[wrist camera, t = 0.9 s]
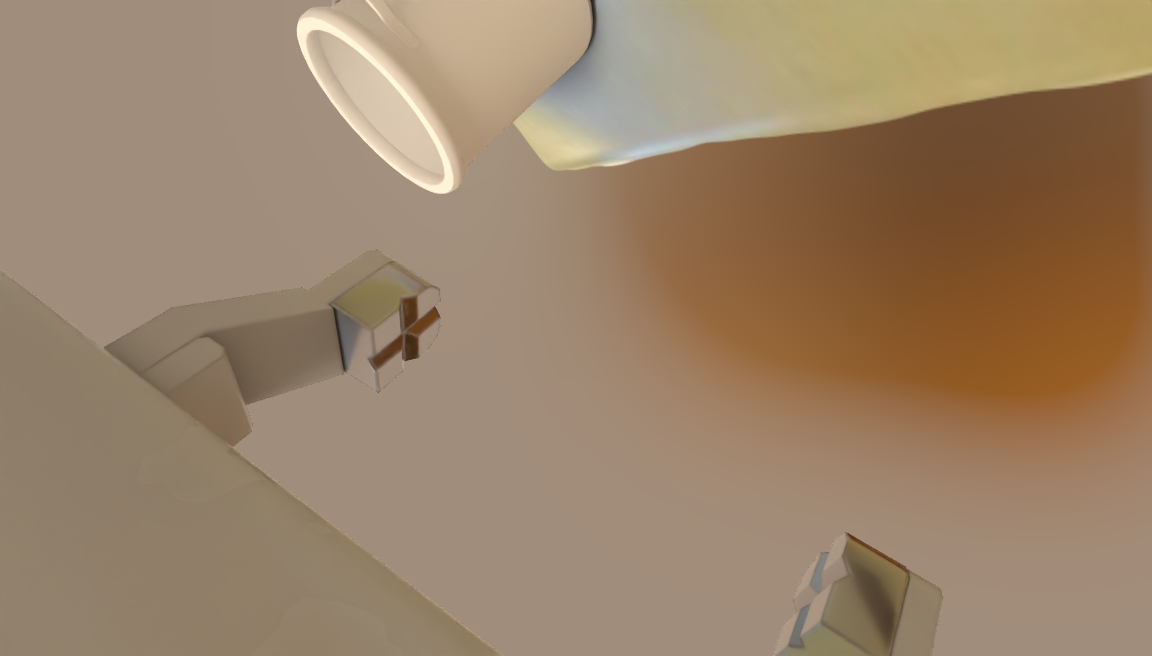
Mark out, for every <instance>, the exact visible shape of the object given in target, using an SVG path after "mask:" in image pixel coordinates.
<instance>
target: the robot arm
mask: <svg viewBox="0 0 1152 656" xmlns="http://www.w3.org/2000/svg"><path fill="white" fill-rule="evenodd" d="M440 301H441V298H440V289H439V288H438V287H436V286H435V285H433V284H432V283H430V282H428V281H427V280H425V279H424V278H422V277H421V276H419V275H417V274H416V273H414V272H413V271H411V270H409V269H408V268H406V267H405V266H403V265H401V264H400V263H399V262H397V261H395V260H394V259H392V258H390V257H389V256H387V255H386V254H384V253H382V252H381V251H379V250H377V249H376V250H371V251H367V252H365V253H364V254H362V255H361V256H359V257H358V258H356V259H355V260H353V261H352V262H350V263H349V264H347V265H346V266H344V267H343V268H341V269H340V270H338V271H337V272H335V273H333V274H332V275H331V276H329V277H328V278H326V279H324V280H323V281H321V282H320V283H319V284H317V285H315V286H314V287H312V288H311V289H309V290H308V291H307V290H305V289H303V288H302V287H301V288H295V289H289V290H282V291H276V292H269V293H263V294H256V295H250V296H243V297H237V298H231V299H224V300H218V301H211V302H205V303H198V304H192V305H185V306H179V307H173V308H170V309H169V310H167V311H165V312H163V313H162V314H160V315H158V316H157V317H155V318H153V319H152V320H150V321H148V322H147V323H145V324H143V325H141V326H140V327H138V328H136V329H134V330H133V331H131V332H129V333H128V334H126V335H124V336H122V337H121V338H119V339H117V340H116V341H114V342H112V343H110V344H109V345H107V346H105V347H104V348H103V347H102V346H100V345H99V344H98V343H96V342H95V341H94V340H93V339H91V338H90V337H89V336H87V335H86V334H85V333H83V332H82V331H81V330H79V329H78V328H77V327H76V326H74V325H73V324H72V323H70V322H69V321H68V320H66V319H65V318H64V317H63V316H61V315H60V314H59V313H57V312H56V311H55V310H53V309H52V308H51V307H50V306H48V305H47V304H46V303H44V302H43V301H42V300H40V299H39V298H38V297H36V296H35V295H34V294H33V293H31V292H30V291H29V290H27V289H26V288H25V287H23V286H22V285H21V284H19V283H18V282H17V281H15V280H14V279H13V278H12V277H10V276H9V275H8V274H7V273H5V272H4V271H3V270H2V269H0V656H504V655H502V654H501V653H499V652H498V651H497V650H496V649H494V648H493V647H492V646H490V645H489V644H488V643H487V642H485V641H484V640H483V639H481V638H480V637H479V636H477V635H476V634H475V633H474V632H472V631H471V630H470V629H468V628H467V627H466V626H464V625H463V624H462V623H460V622H459V621H458V620H457V619H455V618H454V617H453V616H451V615H450V614H449V613H448V612H446V611H445V610H444V609H442V608H441V607H440V606H438V605H437V604H436V603H435V602H433V601H432V600H431V599H429V598H428V597H427V596H425V595H424V594H423V593H422V592H420V591H419V590H418V589H416V588H415V587H414V586H412V585H411V584H410V583H409V582H407V581H406V580H405V579H403V578H402V577H401V576H399V575H398V574H397V573H396V572H394V571H393V570H392V569H390V568H389V567H388V566H386V565H385V564H384V563H383V562H381V561H380V560H379V559H377V558H376V557H374V556H373V555H372V554H371V553H369V552H368V551H367V550H366V549H364V548H363V547H362V546H360V545H359V544H358V543H357V542H355V541H354V540H353V539H351V538H350V537H349V536H347V535H346V534H345V533H344V532H342V531H341V530H340V529H338V528H337V527H335V526H334V525H333V524H332V523H330V522H329V521H328V520H327V519H325V518H324V517H323V516H321V515H320V514H319V513H318V512H316V511H315V510H314V509H312V508H311V507H310V506H308V505H307V504H306V503H304V502H303V501H302V500H301V499H299V498H298V497H297V496H295V495H294V494H293V493H292V492H290V491H289V490H288V489H286V488H285V487H284V486H282V485H281V484H280V483H279V482H277V481H276V480H274V479H273V478H272V477H271V476H269V475H268V474H267V473H265V472H264V471H263V470H262V469H260V468H259V467H258V466H256V465H255V464H254V463H253V462H251V461H250V460H249V459H247V458H246V457H244V456H243V455H242V454H241V453H240V452H238V451H237V450H235V449H234V448H233V446H235V445H236V444H237V443H238V442H239V441H241V440H242V439H243V438H244V437H246V436H247V435H248V434H249V433H251V432H252V427H253V423H252V421H251V418H250V415H249V412H248V410H247V407H246V405H247V404H250V403H254V402H257V401H260V400H263V399H266V398H270V397H273V396H276V395H279V394H282V393H286V392H289V391H292V390H295V389H298V388H302V387H304V386H308V385H311V384H314V383H317V382H320V381H324V380H327V379H330V378H333V377H336V376H340V375H343V374H344V372H346V373H348V374H349V375H351V376H352V377H354V378H355V379H357V380H359V381H360V382H362V383H363V384H365V385H366V386H368V387H370V388H371V389H372V390H374V391H376V392H377V393H379V392H380V391H381V390H382V389H383V388H385V387H386V386H387V385H388V384H389V383H390V382H391V381H393V379H395V378H396V377H397V376H398V375H399V374H401V373H402V372H403V366H404V361H407V360H411V359H416V358H419V357H420V356H421V355H422V354H424V353H425V352H426V351H427V350H428V349H429V348H430V346H431V345H432V343H433V342H434V340H435V339H436V337H437V335H438V332H439V329H440V319H441V318H440V315H439V313H438V311H437V309H436V308H435V305H437V304H438V303H439V302H440ZM942 600H943V596H942V591H941V589H940V588H939V587H937V586H936V585H934V584H932V583H930V582H929V581H927V580H925V579H924V578H922V577H920V576H918V575H917V574H915V573H913V572H912V571H910V570H908V569H907V568H906V567H905V566H903V565H901V564H900V563H898V562H897V561H895V560H893V559H891V558H889V557H888V556H886V555H885V554H883V553H881V552H879V551H878V550H876V549H874V548H872V547H871V546H869V545H867V544H866V543H864V542H862V541H861V540H859V539H857V538H855V537H854V536H852V535H850V534H849V533H842V534H841V535H839V536H838V537H837V538H836V539H835V540H834V541H833V544H832V547H831V550H830V552H821V553H820V554H819V555H818V557H817V558H815V560H814V561H813V562H812V563H811V565H810V566H809V567H808V569H807V571H806V572H805V574H804V575H803V577H802V580H801V581H800V583H799V585H798V588H797V591H796V593H795V595H794V598H793V602H794V606H795V610H796V613H795V614H794V615H793V616H792V617H791V618H790V619H788V620H787V621H786V622H785V623H784V624H783V627H782V630H781V633H780V636H779V638H778V641H777V644H776V646H775V649H774V652H773V655H772V656H932V652H933V647H934V642H935V636H936V631H937V626H938V621H939V616H940V610H941V605H942Z"/></svg>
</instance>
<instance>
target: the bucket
mask: <svg viewBox="0 0 1152 656" xmlns="http://www.w3.org/2000/svg"><path fill="white" fill-rule="evenodd" d="M332 2H333V4H332V5H331V6H330V7H327V6H323V7H314V8H310V9H309V10H307V11H306V12H305V13H304V14H303V15H302V16H301V17H300V19H299V22H298V26H297V36H298V41H299V44H300V47H301V50H302V53H303V55H304V57H305V59H306V61H307V63H308V66H309V68H310V70H311V71H312V73H313V74H314V76H315V78H316V79H317V81H318V83H319V85H320V86H321V87H322V89H323V90H324V92H325V93H326V95H327V96H328V97H329V99H330V101H331V102H332V103H333V104H334V106H335V107H336V108H337V110H338V111H339V112H340V114H341V115H342V116H343V117H344V118H345V120H346V121H347V122H348V123H349V124H350V126H351V127H352V128H353V129H354V130H355V131H356V132H357V133H358V134H359V135H360V137H361V138H362V139H363V140H364V141H365V142H366V143H367V144H368V145H369V146H370V147H371V148H372V149H373V150H374V151H375V152H376V153H377V154H378V155H379V156H380V157H381V158H383V159H384V160H385V161H386V162H387V163H388V164H390V165H391V166H392V167H393V168H394V169H396V170H397V171H398V172H399V173H401V174H402V175H403V176H405V177H406V178H408V179H409V180H411V181H412V182H414V183H415V184H417V185H418V186H420V187H423V188H424V189H427V190H429V191H432V192H435V193H449V192H451V191H453V190H455V189H456V188H458V187H459V186H460V184H461V182H462V180H463V178H464V174H465V167H467V166H469V165H470V164H471V162H472V161H473V159H474V158H475V157H476V156H477V155H479V154H480V153H481V152H482V151H483V150H484V149H485V148H486V147H487V146H488V145H489V144H490V143H491V142H492V141H493V140H494V139H495V138H496V137H498V136H499V135H500V134H501V133H502V132H503V131H504V130H505V129H506V128H507V127H508V126H509V125H510V124H511V123H512V122H513V121H514V120H515V119H517V118H518V117H519V116H520V115H521V114H522V113H523V112H524V111H525V110H526V109H527V108H528V107H529V106H530V105H531V104H532V103H533V102H535V101H536V100H537V99H538V98H539V97H540V96H541V95H542V94H543V93H544V92H545V91H546V90H547V89H548V88H549V87H550V86H551V85H552V84H554V83H555V82H556V81H557V80H558V79H559V78H560V77H561V76H562V75H563V74H564V73H565V72H566V71H567V70H568V69H569V68H570V67H571V66H573V65H574V64H575V63H576V62H577V61H578V60H579V59H580V58H581V57H582V56H583V54H584V53H585V51H586V50H587V47H588V45H589V42H590V39H591V35H592V27H593V16H592V7H591V2H590V0H332Z"/></svg>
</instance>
